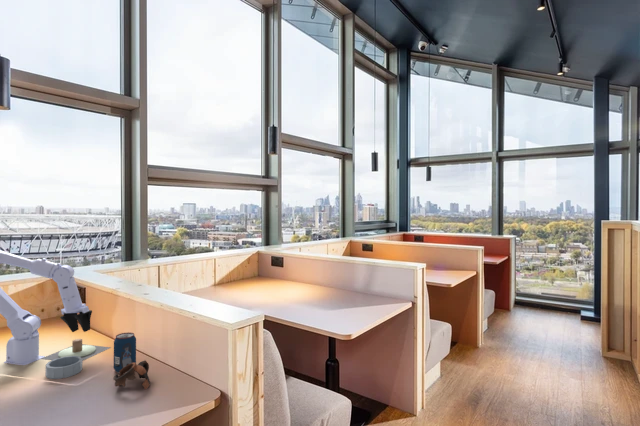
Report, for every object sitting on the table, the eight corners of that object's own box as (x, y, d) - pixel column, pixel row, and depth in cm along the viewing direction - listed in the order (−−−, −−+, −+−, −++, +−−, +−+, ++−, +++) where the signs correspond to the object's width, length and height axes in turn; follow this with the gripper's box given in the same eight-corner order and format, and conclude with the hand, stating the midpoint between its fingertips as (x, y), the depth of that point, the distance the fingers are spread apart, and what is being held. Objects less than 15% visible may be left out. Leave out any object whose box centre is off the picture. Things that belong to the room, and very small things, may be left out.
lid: (50, 357, 140) (50, 344, 140) (77, 345, 152) (77, 334, 152) (77, 360, 137) (77, 347, 137) (102, 348, 149) (103, 336, 149)
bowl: (38, 378, 124) (38, 366, 124) (65, 366, 134) (65, 354, 133) (63, 381, 122) (63, 369, 122) (88, 369, 131) (88, 357, 131)
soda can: (125, 364, 136) (125, 330, 136) (140, 367, 134) (140, 333, 134) (108, 371, 129) (109, 336, 129) (124, 375, 127) (124, 339, 127)
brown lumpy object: (143, 395, 115) (128, 374, 113) (119, 406, 116) (103, 385, 115) (162, 369, 126) (148, 349, 124) (139, 379, 128) (125, 360, 126)
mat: (40, 360, 138) (40, 358, 138) (77, 344, 154) (77, 343, 154) (76, 364, 135) (77, 363, 135) (111, 348, 150) (111, 347, 150)
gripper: (92, 291, 142) (102, 325, 143) (70, 293, 149) (80, 326, 150) (73, 299, 136) (84, 334, 137) (51, 301, 142) (62, 334, 144)
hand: (81, 330), depth 143 cm, fingers open, 7 cm apart
